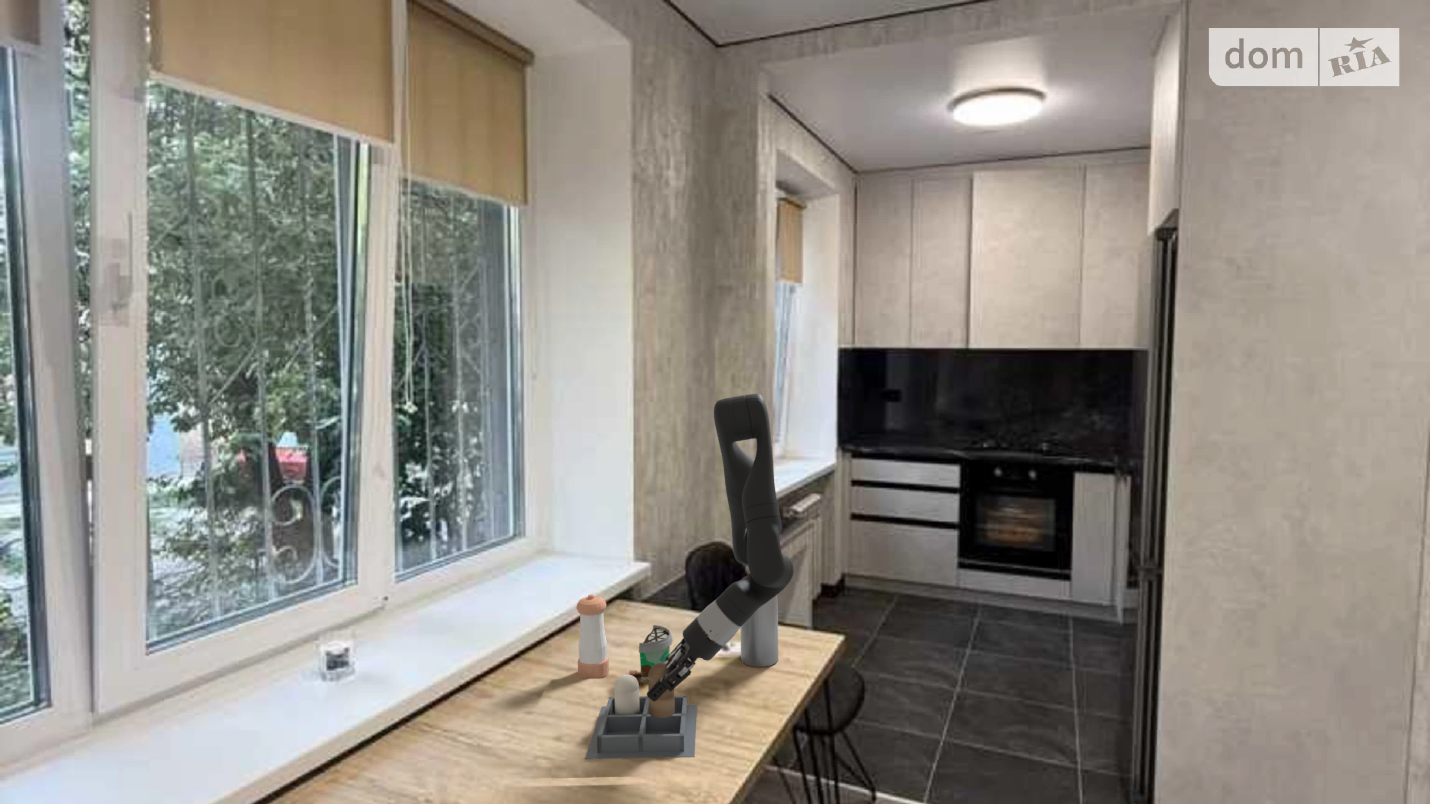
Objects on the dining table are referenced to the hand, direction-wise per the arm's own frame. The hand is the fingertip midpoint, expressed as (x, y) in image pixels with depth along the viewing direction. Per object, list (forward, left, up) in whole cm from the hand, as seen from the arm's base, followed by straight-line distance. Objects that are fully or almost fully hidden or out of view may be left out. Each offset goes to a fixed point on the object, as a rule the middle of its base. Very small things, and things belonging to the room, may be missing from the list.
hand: (651, 690), depth 145 cm
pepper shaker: (-33, -17, -11) cm, 39 cm away
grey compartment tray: (-4, -2, -11) cm, 12 cm away
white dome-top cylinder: (-8, -6, -10) cm, 14 cm away
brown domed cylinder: (0, +2, -4) cm, 5 cm away
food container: (-31, -1, -11) cm, 33 cm away
